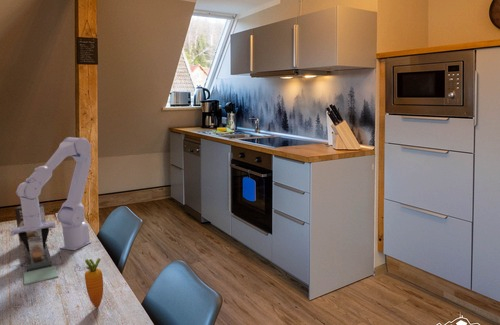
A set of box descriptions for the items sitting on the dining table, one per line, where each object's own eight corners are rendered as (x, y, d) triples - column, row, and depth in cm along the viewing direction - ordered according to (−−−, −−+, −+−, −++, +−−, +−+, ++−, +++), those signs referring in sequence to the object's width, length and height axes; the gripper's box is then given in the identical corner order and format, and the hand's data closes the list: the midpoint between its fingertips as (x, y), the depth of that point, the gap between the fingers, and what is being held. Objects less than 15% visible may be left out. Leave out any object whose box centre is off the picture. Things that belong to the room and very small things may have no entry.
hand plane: (24, 253, 161) (22, 237, 160) (47, 249, 165) (45, 233, 164) (26, 272, 144) (24, 254, 143) (52, 266, 148) (49, 249, 146)
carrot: (108, 302, 120) (103, 254, 117) (103, 311, 115) (97, 261, 113) (91, 303, 120) (85, 255, 117) (85, 312, 115) (79, 262, 112)
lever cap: (29, 252, 155) (27, 237, 154) (43, 249, 157) (41, 235, 156) (30, 257, 150) (28, 242, 149) (44, 254, 152) (42, 239, 151)
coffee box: (18, 245, 170) (13, 208, 167) (28, 240, 176) (23, 203, 173) (39, 245, 169) (34, 208, 166) (48, 240, 175) (44, 203, 172)
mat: (23, 273, 142) (23, 272, 142) (55, 266, 147) (55, 265, 147) (24, 285, 134) (24, 283, 134) (58, 277, 139) (58, 276, 139)
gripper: (8, 221, 144) (14, 257, 147) (54, 213, 151) (58, 248, 154) (8, 216, 150) (14, 251, 153) (52, 209, 157) (56, 243, 160)
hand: (36, 249), depth 154 cm, fingers closed on lever cap, 4 cm apart
